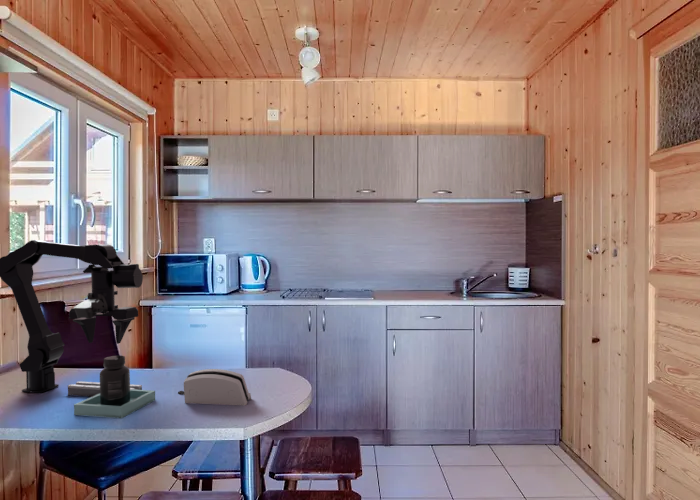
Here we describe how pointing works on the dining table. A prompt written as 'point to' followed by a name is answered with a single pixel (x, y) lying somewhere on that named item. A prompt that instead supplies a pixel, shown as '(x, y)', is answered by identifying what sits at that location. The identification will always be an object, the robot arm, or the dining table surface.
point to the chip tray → (95, 409)
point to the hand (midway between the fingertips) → (104, 343)
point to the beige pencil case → (216, 388)
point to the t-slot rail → (90, 388)
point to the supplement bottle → (114, 382)
